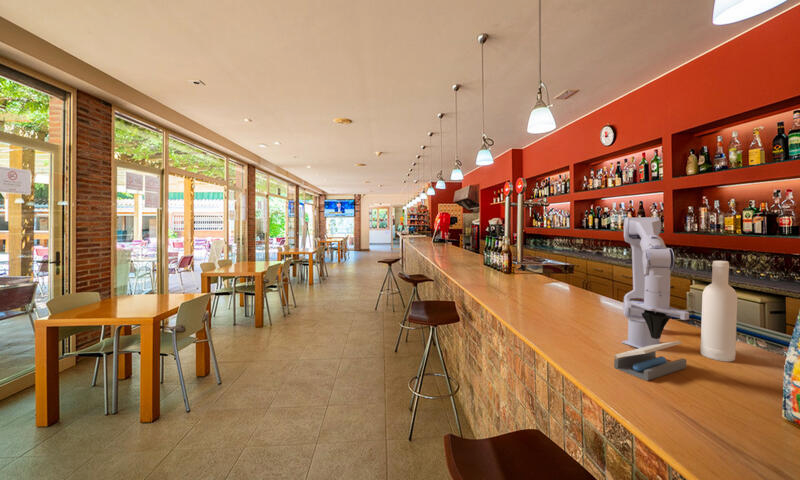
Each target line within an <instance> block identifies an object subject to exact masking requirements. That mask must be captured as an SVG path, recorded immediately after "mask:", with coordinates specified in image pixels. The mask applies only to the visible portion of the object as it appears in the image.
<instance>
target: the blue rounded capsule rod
mask: <svg viewBox="0 0 800 480" xmlns="http://www.w3.org/2000/svg"><path fill="white" fill-rule="evenodd" d="M666 361H667V359H666V358H665V357H664V356H661V355H660V356H657V358H654V359H650V360H647V361H644V362H640V363H637V364H634V365H633V369H634V370H635V371H642V370H645V369H648V368H651V367H655V366H658V365H661V364H664V363H666Z"/></svg>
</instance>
